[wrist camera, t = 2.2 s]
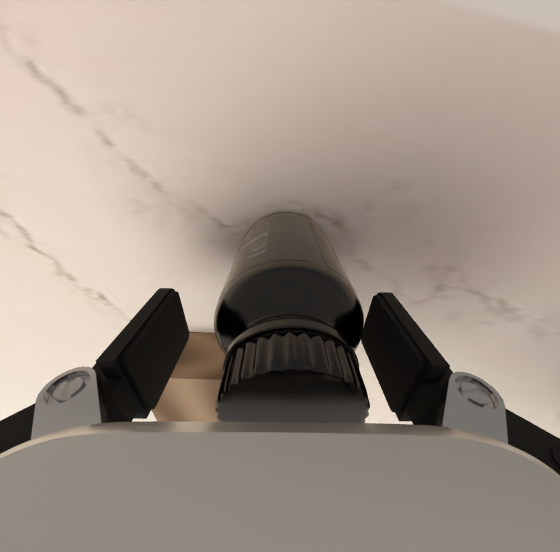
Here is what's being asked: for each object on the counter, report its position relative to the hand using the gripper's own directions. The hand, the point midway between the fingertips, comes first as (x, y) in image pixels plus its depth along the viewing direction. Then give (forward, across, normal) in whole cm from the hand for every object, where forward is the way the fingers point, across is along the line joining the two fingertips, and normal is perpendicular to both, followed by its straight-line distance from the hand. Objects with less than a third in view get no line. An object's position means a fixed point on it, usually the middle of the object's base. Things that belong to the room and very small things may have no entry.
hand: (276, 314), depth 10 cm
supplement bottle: (+8, -1, 0) cm, 8 cm away
